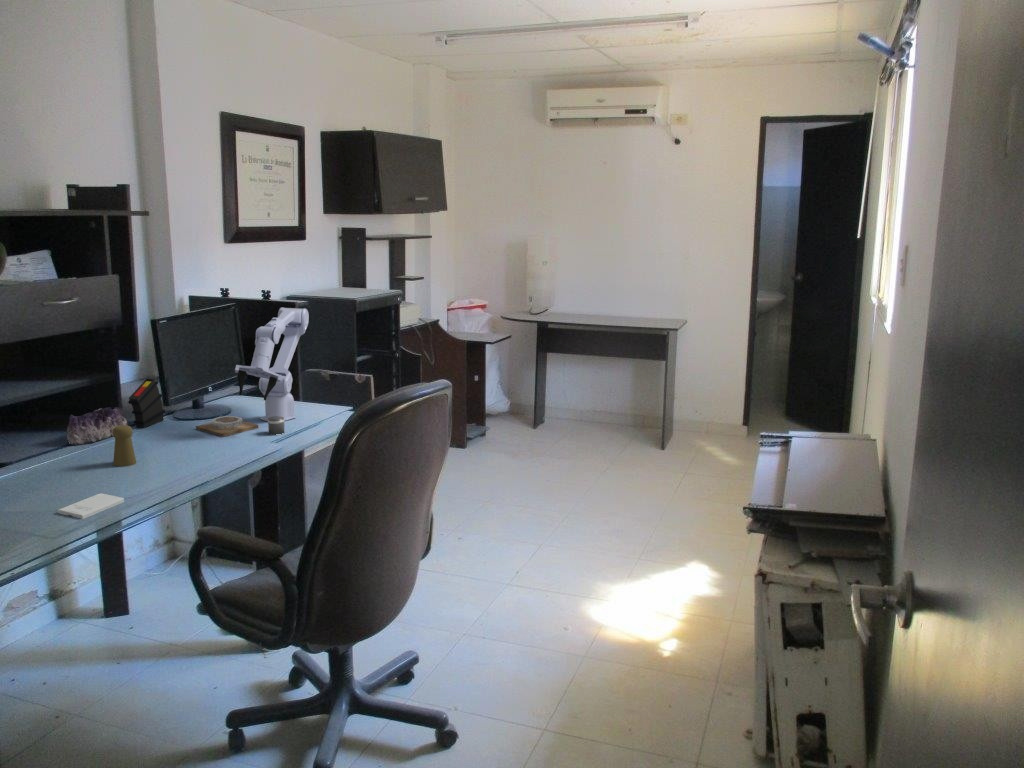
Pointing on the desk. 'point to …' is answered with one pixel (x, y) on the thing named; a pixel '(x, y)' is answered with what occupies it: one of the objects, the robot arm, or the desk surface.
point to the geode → (94, 425)
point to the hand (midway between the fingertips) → (252, 396)
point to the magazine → (147, 404)
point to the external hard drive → (91, 505)
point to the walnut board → (223, 433)
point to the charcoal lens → (276, 425)
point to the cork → (123, 446)
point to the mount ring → (227, 422)
